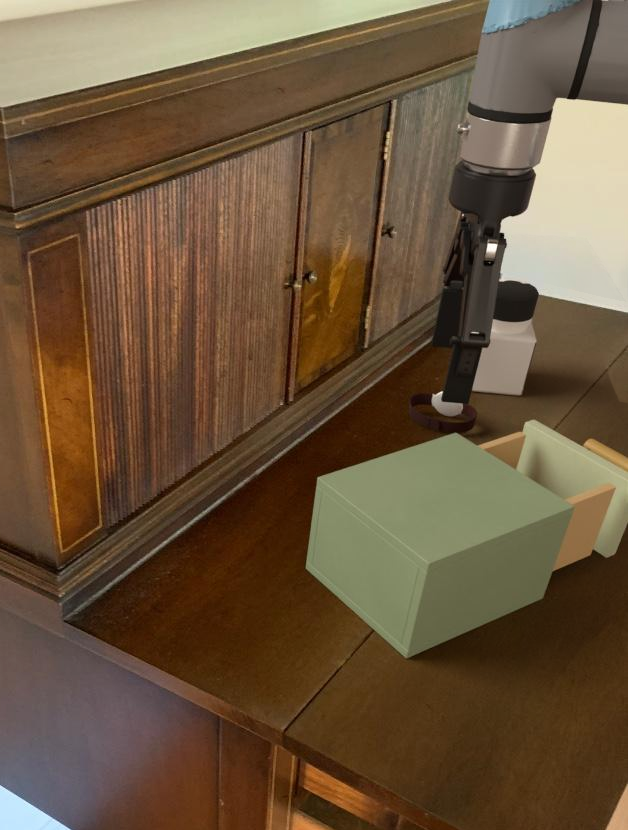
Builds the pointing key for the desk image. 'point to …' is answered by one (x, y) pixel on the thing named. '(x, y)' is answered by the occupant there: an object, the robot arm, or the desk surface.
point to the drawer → (573, 485)
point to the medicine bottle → (509, 340)
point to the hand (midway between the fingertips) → (448, 372)
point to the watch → (444, 409)
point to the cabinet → (434, 540)
